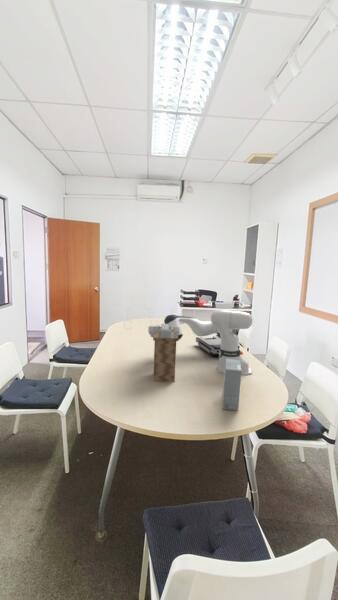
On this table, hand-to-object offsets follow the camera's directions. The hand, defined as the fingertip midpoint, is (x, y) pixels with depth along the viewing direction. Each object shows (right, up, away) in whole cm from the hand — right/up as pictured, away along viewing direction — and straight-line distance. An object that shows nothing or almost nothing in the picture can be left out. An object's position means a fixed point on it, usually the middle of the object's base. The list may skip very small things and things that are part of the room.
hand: (164, 326), depth 174 cm
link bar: (0, -3, -7) cm, 7 cm away
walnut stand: (0, -29, -8) cm, 30 cm away
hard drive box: (+33, -35, -34) cm, 59 cm away
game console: (+40, -24, +47) cm, 66 cm away
